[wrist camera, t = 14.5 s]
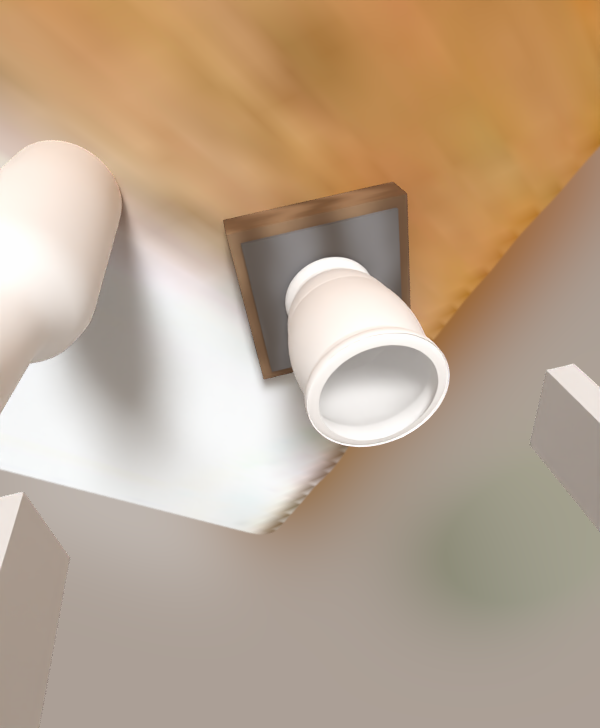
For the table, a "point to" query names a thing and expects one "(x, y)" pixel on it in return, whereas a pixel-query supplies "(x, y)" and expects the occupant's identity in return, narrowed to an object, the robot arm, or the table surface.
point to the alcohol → (51, 251)
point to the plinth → (315, 255)
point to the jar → (360, 355)
